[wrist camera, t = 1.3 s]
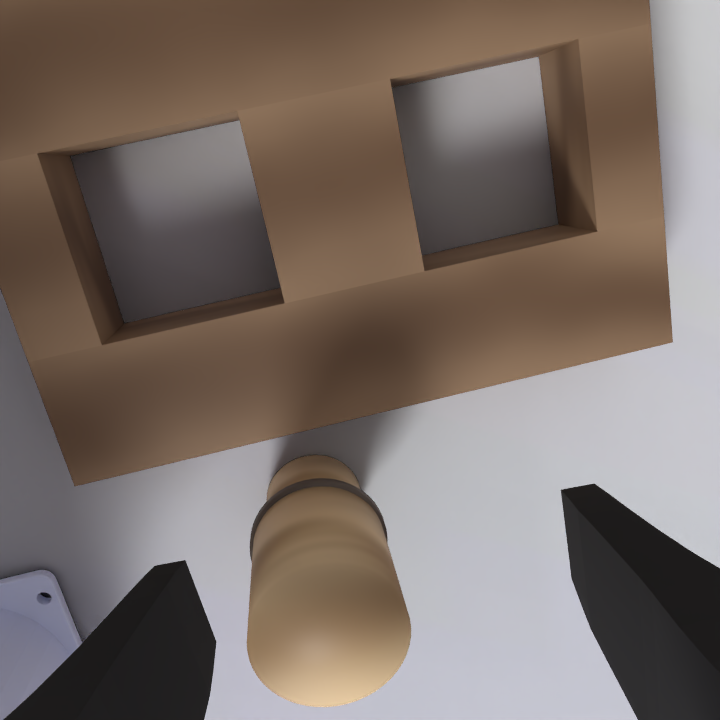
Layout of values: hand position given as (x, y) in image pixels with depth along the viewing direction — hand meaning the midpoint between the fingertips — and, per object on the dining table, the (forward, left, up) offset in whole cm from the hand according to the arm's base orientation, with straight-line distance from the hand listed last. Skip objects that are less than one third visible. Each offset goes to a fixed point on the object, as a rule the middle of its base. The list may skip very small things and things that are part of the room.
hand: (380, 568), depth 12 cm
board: (+6, -1, -12) cm, 14 cm away
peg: (-5, +2, -12) cm, 13 cm away
